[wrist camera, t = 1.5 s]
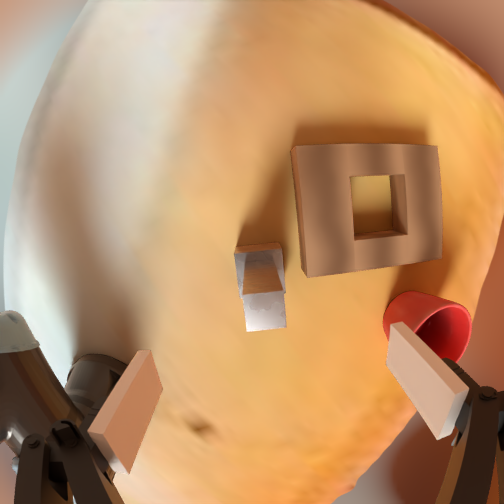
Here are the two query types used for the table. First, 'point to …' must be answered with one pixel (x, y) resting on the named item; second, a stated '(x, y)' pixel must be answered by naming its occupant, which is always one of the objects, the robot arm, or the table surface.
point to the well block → (341, 215)
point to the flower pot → (432, 322)
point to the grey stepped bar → (261, 285)
